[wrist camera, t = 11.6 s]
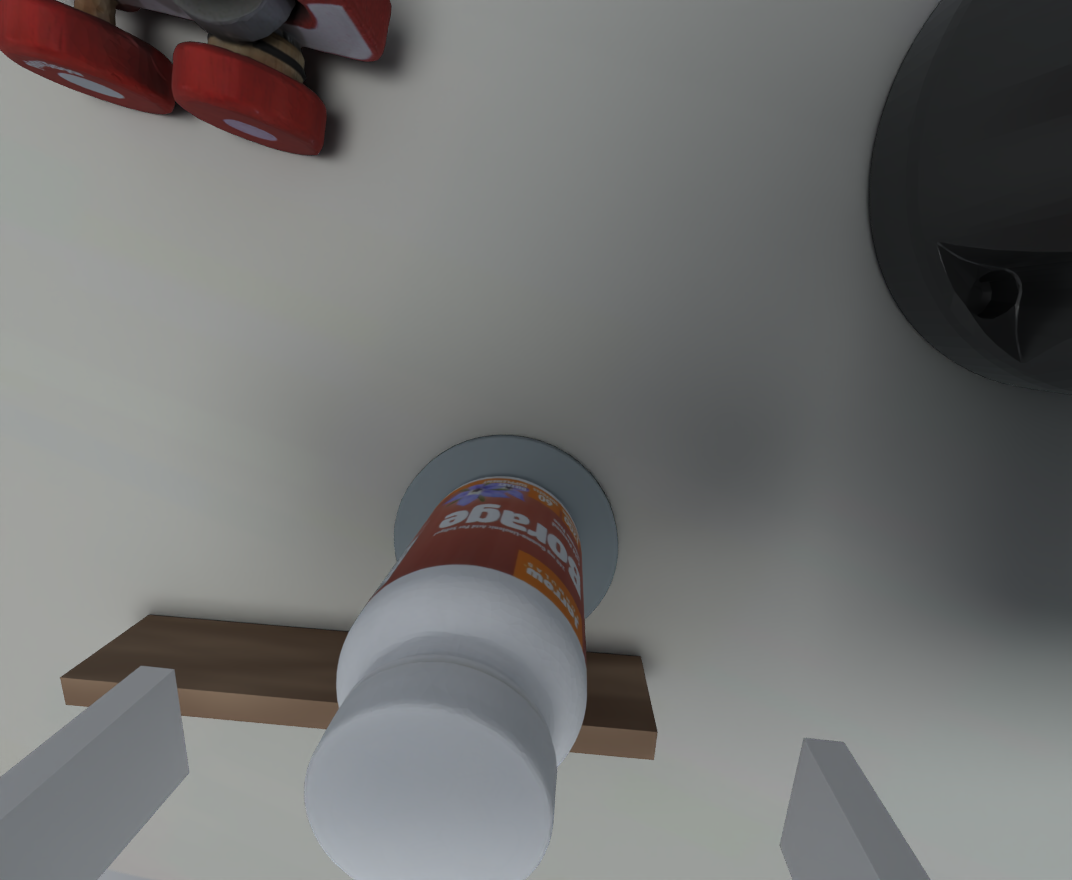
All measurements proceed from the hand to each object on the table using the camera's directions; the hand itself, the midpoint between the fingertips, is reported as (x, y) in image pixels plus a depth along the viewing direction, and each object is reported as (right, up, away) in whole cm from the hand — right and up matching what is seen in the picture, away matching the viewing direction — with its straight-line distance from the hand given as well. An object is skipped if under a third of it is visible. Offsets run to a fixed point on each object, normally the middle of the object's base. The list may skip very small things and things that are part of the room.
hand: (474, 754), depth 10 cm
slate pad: (0, +2, +10) cm, 10 cm away
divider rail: (-5, -3, +12) cm, 13 cm away
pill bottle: (0, +2, +10) cm, 10 cm away
